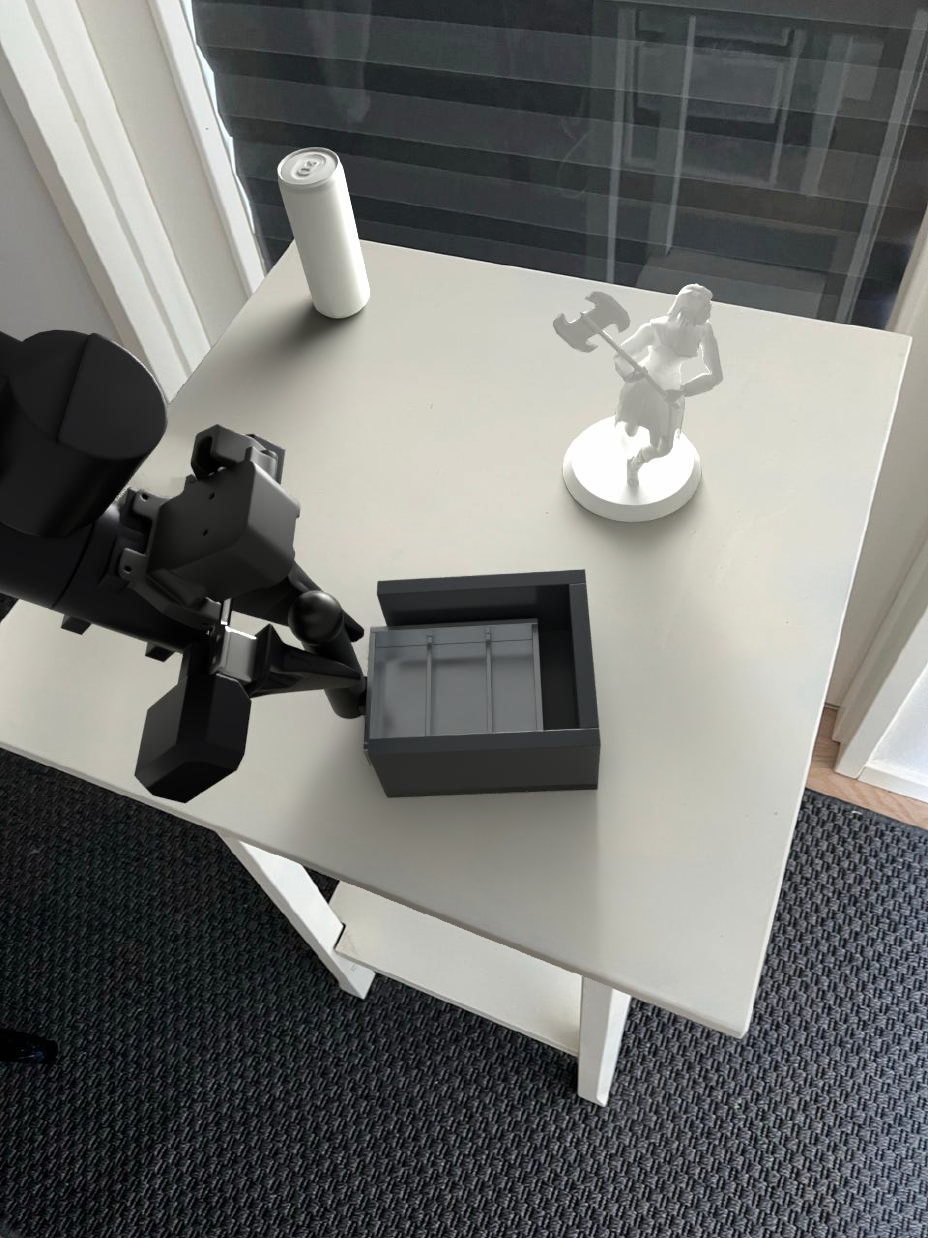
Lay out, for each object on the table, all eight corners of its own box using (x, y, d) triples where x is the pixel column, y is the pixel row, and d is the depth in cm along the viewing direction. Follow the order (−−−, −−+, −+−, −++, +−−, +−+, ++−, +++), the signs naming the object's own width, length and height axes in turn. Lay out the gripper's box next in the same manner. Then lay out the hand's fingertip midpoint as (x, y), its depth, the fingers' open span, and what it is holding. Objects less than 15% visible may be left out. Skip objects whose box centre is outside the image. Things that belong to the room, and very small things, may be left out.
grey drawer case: (386, 798, 53) (367, 755, 48) (393, 634, 59) (377, 580, 54) (597, 790, 52) (600, 745, 47) (583, 623, 58) (585, 568, 53)
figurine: (556, 522, 62) (551, 303, 47) (558, 418, 67) (555, 190, 52) (706, 521, 61) (750, 297, 46) (697, 416, 66) (735, 182, 51)
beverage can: (381, 289, 77) (353, 151, 67) (354, 327, 75) (320, 190, 65) (331, 278, 79) (296, 141, 68) (303, 314, 76) (262, 178, 66)
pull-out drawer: (324, 768, 53) (273, 675, 44) (334, 647, 57) (289, 540, 48) (545, 758, 52) (540, 662, 43) (538, 636, 56) (532, 525, 47)
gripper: (96, 660, 32) (450, 773, 40) (183, 300, 42) (452, 451, 50) (-4, 762, 39) (314, 840, 48) (90, 435, 49) (339, 547, 58)
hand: (358, 658), depth 51 cm, fingers closed on pull-out drawer, 2 cm apart
